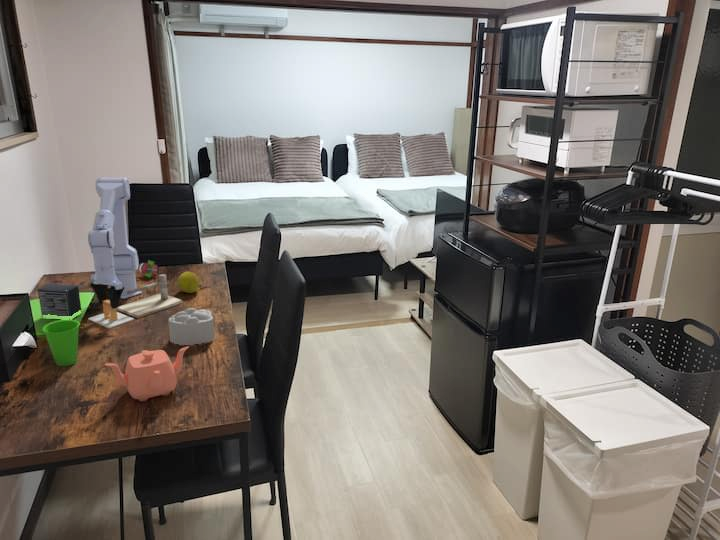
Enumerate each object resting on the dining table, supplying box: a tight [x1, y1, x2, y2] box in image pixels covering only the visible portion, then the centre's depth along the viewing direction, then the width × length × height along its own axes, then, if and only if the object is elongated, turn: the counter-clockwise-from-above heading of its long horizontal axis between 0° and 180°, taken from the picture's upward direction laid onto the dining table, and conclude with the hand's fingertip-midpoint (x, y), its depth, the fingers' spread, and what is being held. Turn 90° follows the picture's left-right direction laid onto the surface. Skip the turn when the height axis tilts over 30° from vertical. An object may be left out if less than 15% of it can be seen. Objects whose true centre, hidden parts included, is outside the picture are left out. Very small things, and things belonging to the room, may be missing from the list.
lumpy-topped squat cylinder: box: [168, 307, 215, 346], centre depth 162 cm, size 10×13×9 cm
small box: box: [37, 283, 82, 316], centre depth 174 cm, size 11×6×10 cm, turn 84°
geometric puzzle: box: [138, 259, 159, 279], centre depth 215 cm, size 7×7×8 cm
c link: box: [102, 298, 118, 321], centre depth 173 cm, size 5×2×6 cm, turn 57°
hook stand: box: [116, 274, 183, 319], centre depth 184 cm, size 12×18×10 cm, turn 146°
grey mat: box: [87, 311, 135, 329], centre depth 174 cm, size 12×9×1 cm
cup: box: [41, 319, 81, 367], centre depth 144 cm, size 9×9×11 cm
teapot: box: [104, 346, 190, 402], centre depth 132 cm, size 14×14×11 cm
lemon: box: [177, 271, 200, 294], centre depth 199 cm, size 11×8×8 cm
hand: (109, 305), depth 172 cm, fingers open, 6 cm apart
